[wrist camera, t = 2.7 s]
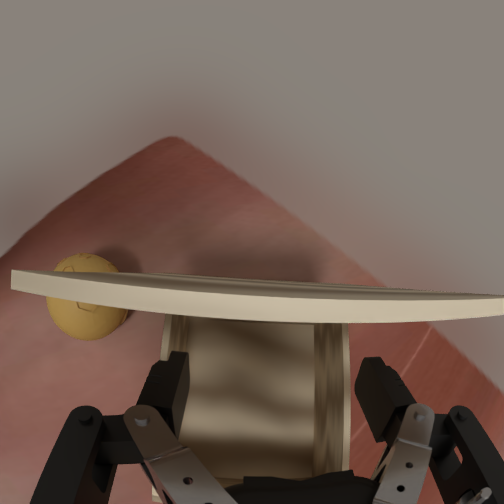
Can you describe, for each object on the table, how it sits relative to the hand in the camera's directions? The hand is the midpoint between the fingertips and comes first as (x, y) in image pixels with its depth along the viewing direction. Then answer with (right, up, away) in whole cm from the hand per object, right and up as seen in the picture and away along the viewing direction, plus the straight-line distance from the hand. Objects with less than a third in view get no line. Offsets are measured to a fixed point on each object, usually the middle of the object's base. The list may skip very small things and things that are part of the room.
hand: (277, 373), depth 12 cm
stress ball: (-20, -2, +22) cm, 30 cm away
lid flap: (0, +3, +4) cm, 5 cm away
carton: (-1, -11, +18) cm, 21 cm away
